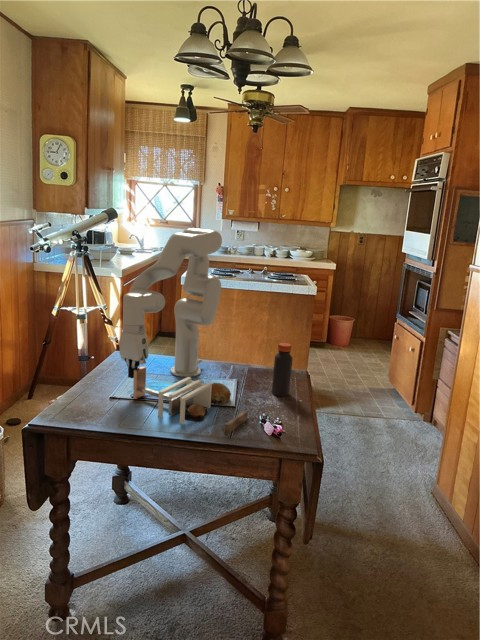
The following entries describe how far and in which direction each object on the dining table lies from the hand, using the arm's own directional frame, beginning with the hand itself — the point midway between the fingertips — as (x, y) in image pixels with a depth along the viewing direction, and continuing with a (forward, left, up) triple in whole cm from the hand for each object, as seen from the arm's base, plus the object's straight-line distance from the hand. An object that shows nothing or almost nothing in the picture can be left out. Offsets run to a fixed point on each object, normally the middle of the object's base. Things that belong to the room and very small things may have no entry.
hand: (132, 376), depth 172 cm
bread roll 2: (-16, +27, -8) cm, 32 cm away
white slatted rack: (0, +23, -7) cm, 24 cm away
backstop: (-1, +43, -7) cm, 43 cm away
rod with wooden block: (0, +13, -7) cm, 14 cm away
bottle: (-36, +43, -7) cm, 57 cm away
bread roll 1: (0, +27, -8) cm, 28 cm away
